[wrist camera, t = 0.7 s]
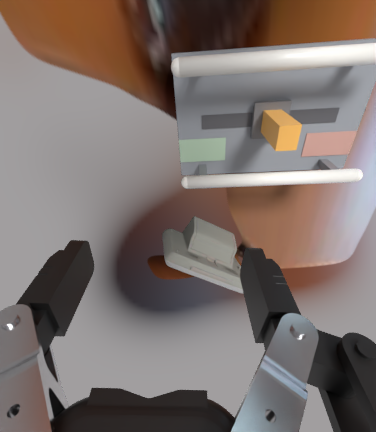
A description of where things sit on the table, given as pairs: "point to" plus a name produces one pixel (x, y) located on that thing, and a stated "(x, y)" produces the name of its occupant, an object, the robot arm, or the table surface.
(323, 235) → the table surface
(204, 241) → the digital clock
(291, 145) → the breaker toggle
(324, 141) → the breaker panel
